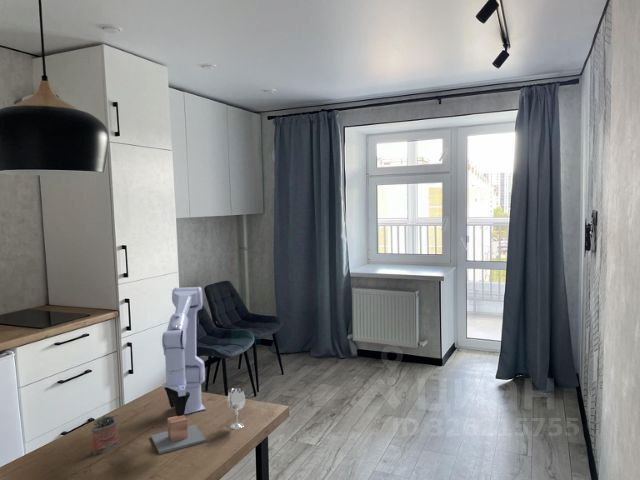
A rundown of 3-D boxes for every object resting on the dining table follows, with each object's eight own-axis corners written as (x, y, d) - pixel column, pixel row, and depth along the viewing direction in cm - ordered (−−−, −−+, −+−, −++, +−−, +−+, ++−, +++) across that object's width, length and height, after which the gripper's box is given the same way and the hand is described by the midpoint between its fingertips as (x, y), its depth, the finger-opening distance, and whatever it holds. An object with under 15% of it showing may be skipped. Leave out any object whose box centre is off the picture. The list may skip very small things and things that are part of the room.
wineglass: (242, 430, 156) (241, 394, 156) (225, 429, 158) (224, 393, 157) (248, 422, 162) (247, 388, 161) (232, 421, 163) (231, 386, 162)
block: (168, 436, 152) (167, 418, 151) (184, 432, 154) (183, 414, 154) (171, 442, 148) (170, 423, 148) (187, 437, 151) (186, 419, 150)
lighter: (115, 441, 150) (113, 410, 150) (121, 444, 148) (120, 413, 148) (90, 452, 144) (88, 420, 143) (96, 456, 142) (94, 423, 141)
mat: (150, 437, 153) (150, 435, 153) (195, 426, 160) (194, 424, 160) (159, 454, 142) (159, 451, 142) (206, 441, 149) (205, 439, 149)
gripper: (157, 364, 154) (158, 405, 155) (167, 377, 141) (169, 423, 142) (179, 360, 157) (180, 400, 158) (191, 373, 145) (193, 417, 146)
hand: (177, 411), depth 150 cm, fingers open, 7 cm apart
